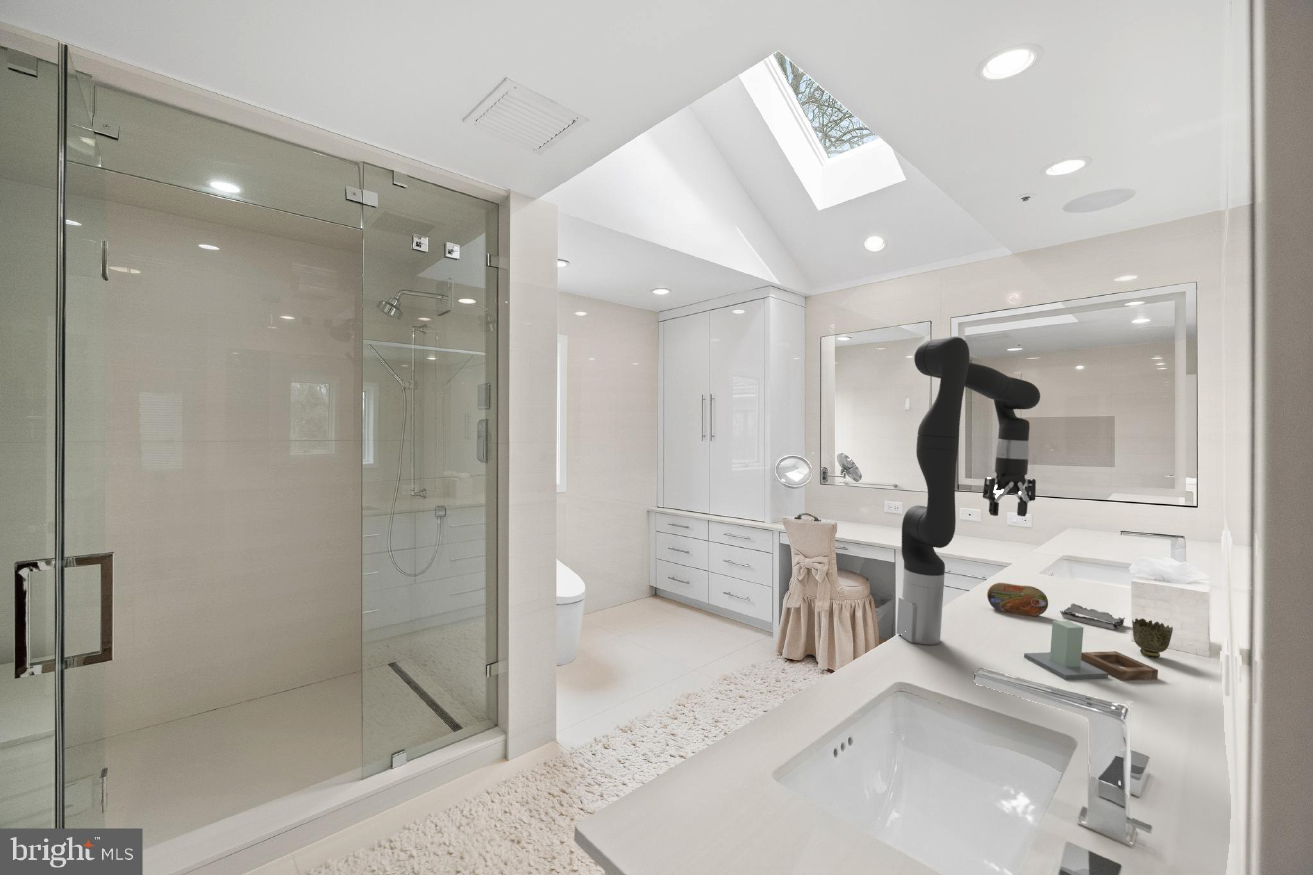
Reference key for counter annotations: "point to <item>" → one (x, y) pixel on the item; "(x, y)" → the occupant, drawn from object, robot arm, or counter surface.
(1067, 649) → the sage block
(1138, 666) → the walnut pocket
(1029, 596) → the tin
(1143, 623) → the cup
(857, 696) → the counter surface
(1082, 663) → the slate coaster
